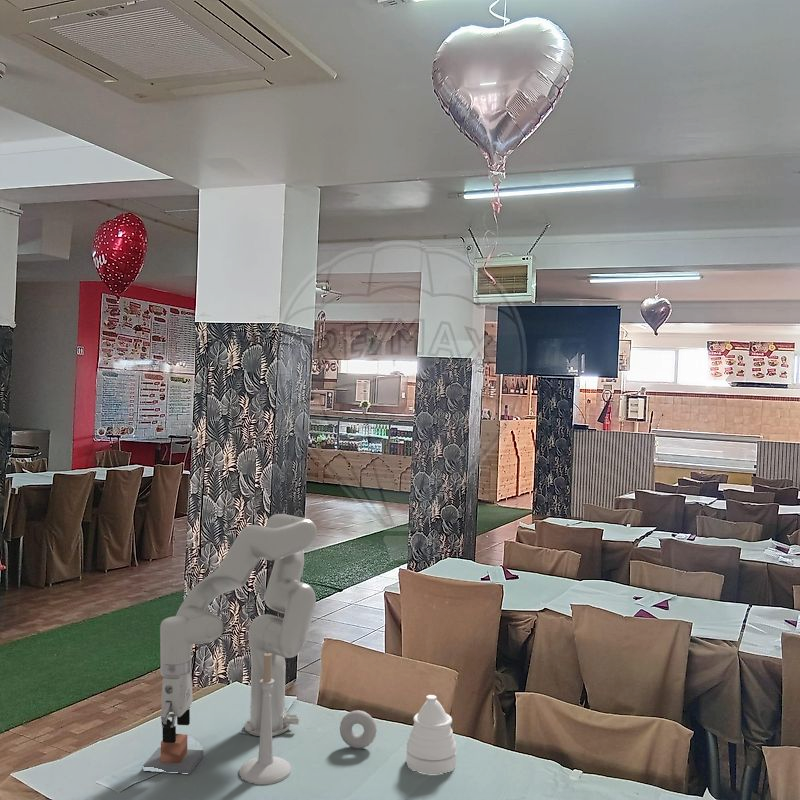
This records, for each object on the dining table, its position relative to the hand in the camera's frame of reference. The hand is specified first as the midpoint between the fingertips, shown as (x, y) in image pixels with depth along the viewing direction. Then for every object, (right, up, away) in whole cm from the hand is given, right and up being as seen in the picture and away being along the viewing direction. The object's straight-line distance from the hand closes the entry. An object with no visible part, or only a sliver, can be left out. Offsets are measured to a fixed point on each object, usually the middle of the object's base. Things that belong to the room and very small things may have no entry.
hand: (176, 733), depth 201 cm
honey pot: (+65, -9, +3) cm, 66 cm away
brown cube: (0, -6, 0) cm, 6 cm away
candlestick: (+23, -8, -3) cm, 25 cm away
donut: (+46, -9, +11) cm, 48 cm away
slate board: (-1, -8, 0) cm, 8 cm away
